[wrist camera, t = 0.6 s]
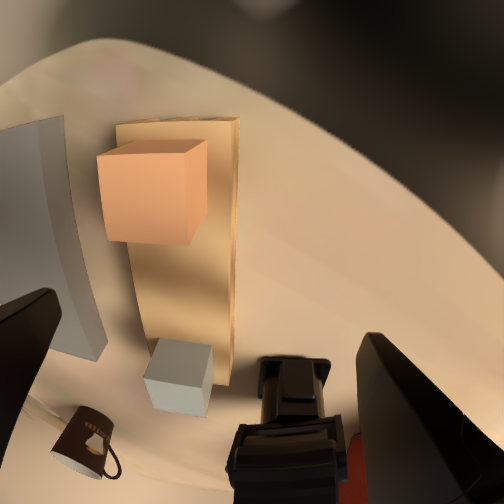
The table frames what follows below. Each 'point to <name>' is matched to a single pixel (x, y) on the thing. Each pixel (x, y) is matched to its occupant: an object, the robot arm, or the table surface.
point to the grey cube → (180, 377)
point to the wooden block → (193, 249)
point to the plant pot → (354, 475)
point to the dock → (45, 234)
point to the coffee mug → (86, 444)
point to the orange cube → (154, 191)
